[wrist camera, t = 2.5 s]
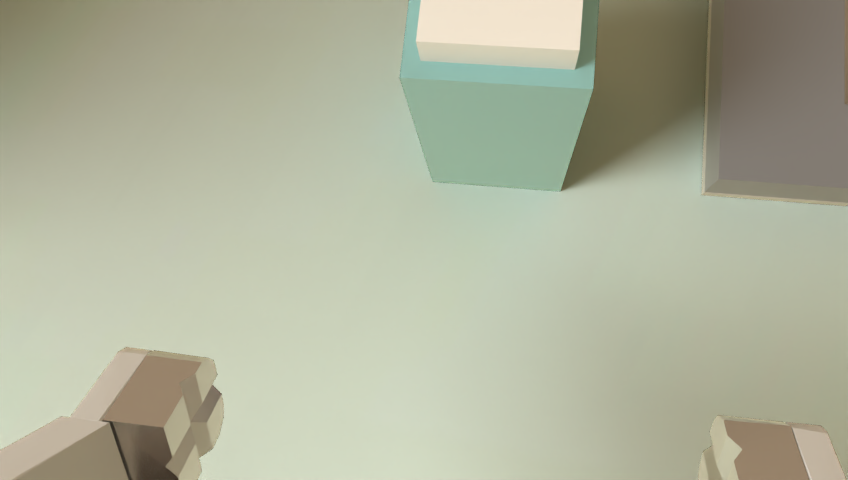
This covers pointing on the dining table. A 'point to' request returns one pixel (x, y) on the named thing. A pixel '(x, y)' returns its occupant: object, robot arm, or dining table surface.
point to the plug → (499, 87)
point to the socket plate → (777, 101)
